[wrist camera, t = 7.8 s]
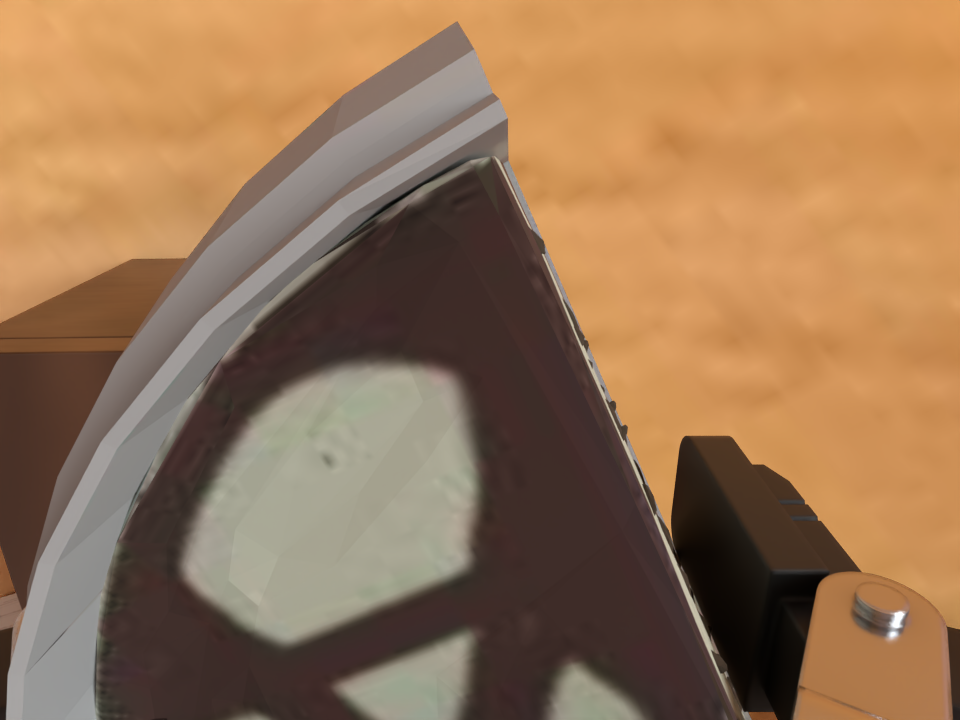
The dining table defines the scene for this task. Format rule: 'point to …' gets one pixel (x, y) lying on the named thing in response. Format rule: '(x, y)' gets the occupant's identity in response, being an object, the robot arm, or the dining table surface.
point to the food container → (365, 461)
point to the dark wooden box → (60, 390)
